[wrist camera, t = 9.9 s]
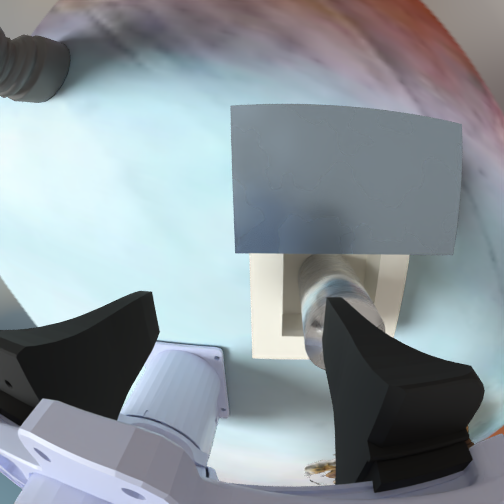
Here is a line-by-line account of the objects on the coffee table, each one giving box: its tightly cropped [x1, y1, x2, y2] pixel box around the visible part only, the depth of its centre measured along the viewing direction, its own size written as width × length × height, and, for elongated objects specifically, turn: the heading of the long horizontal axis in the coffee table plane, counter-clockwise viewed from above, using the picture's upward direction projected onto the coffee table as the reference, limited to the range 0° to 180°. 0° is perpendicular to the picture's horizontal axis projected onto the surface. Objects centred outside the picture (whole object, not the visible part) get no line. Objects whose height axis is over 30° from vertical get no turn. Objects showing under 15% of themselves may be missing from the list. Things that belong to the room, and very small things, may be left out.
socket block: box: [249, 253, 410, 359], centre depth 20 cm, size 10×10×4 cm
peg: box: [297, 254, 385, 370], centre depth 17 cm, size 4×4×8 cm
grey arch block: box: [231, 104, 462, 255], centre depth 15 cm, size 6×10×9 cm, turn 91°
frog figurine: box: [304, 454, 336, 485], centre depth 29 cm, size 12×12×4 cm
